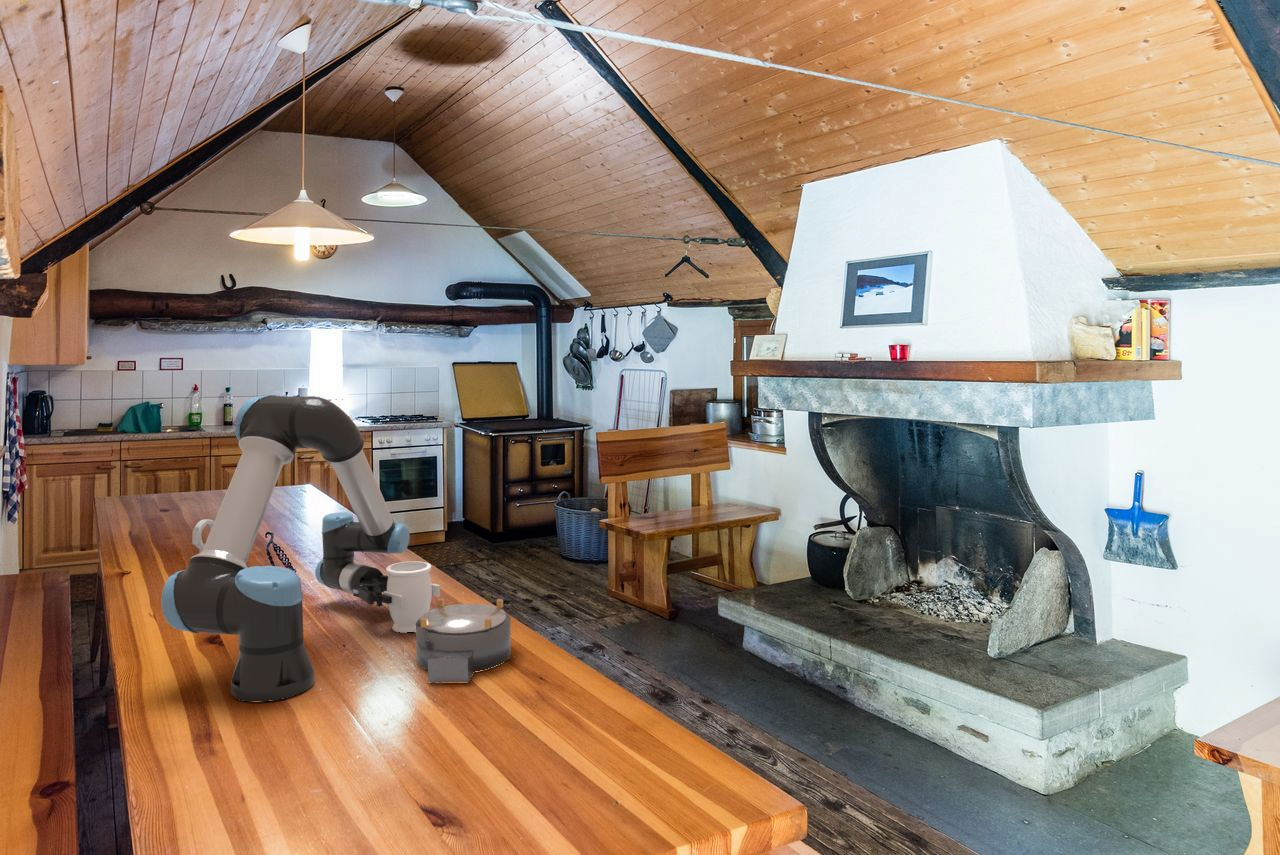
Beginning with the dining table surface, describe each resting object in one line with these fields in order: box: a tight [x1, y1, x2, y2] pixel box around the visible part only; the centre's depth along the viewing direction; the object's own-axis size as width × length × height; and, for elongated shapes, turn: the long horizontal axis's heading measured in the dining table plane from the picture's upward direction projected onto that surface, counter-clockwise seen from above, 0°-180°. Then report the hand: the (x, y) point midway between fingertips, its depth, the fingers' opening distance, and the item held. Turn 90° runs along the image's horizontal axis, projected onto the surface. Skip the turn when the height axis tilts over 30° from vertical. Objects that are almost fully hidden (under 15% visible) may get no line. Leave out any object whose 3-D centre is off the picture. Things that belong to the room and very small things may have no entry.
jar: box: [385, 560, 432, 634], centre depth 200 cm, size 11×10×15 cm
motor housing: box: [415, 598, 512, 683], centre depth 179 cm, size 24×20×11 cm
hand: (420, 596), depth 197 cm, fingers closed on jar, 10 cm apart
